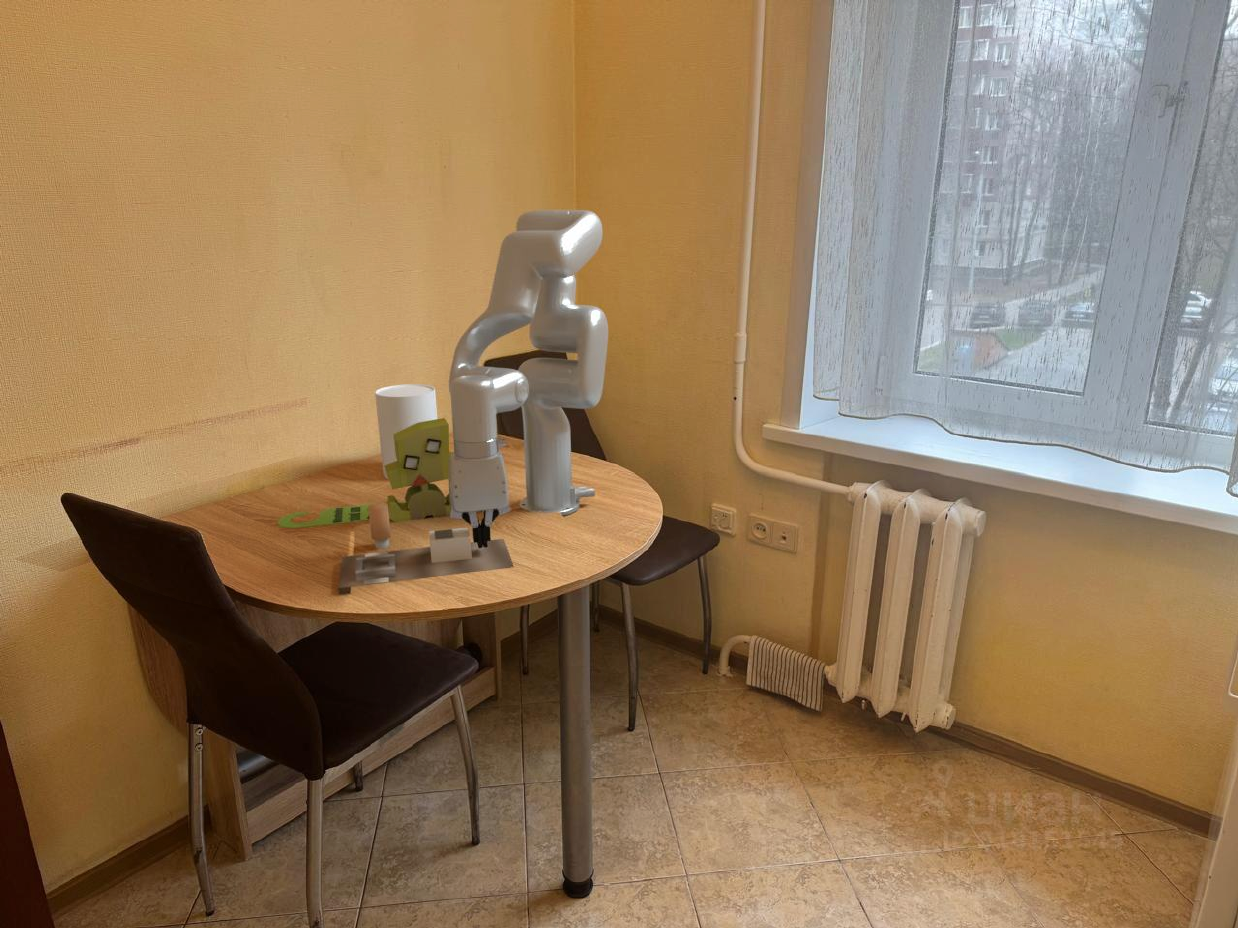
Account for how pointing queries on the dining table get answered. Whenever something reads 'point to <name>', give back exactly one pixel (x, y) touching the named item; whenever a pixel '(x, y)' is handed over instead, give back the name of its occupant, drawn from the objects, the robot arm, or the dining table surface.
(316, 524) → the door hanger
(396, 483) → the toy
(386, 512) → the tan rounded cylinder
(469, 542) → the block
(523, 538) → the dining table surface
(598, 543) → the dining table surface
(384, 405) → the canister
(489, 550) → the panel
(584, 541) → the dining table surface
